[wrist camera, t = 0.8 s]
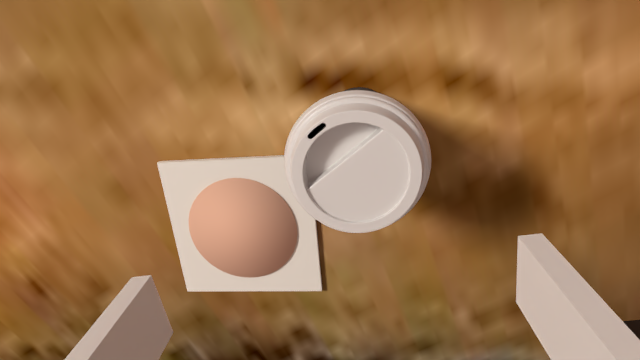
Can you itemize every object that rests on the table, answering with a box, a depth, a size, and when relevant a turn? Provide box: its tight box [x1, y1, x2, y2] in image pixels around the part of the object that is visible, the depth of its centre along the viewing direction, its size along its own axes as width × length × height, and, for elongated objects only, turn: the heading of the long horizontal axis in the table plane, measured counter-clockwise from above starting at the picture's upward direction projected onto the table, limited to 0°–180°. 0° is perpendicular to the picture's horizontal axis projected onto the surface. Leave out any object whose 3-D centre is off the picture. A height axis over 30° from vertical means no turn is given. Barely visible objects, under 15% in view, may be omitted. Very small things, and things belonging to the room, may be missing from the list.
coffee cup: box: [284, 87, 431, 233], centre depth 31 cm, size 10×10×15 cm
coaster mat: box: [157, 155, 322, 291], centre depth 43 cm, size 16×16×1 cm
